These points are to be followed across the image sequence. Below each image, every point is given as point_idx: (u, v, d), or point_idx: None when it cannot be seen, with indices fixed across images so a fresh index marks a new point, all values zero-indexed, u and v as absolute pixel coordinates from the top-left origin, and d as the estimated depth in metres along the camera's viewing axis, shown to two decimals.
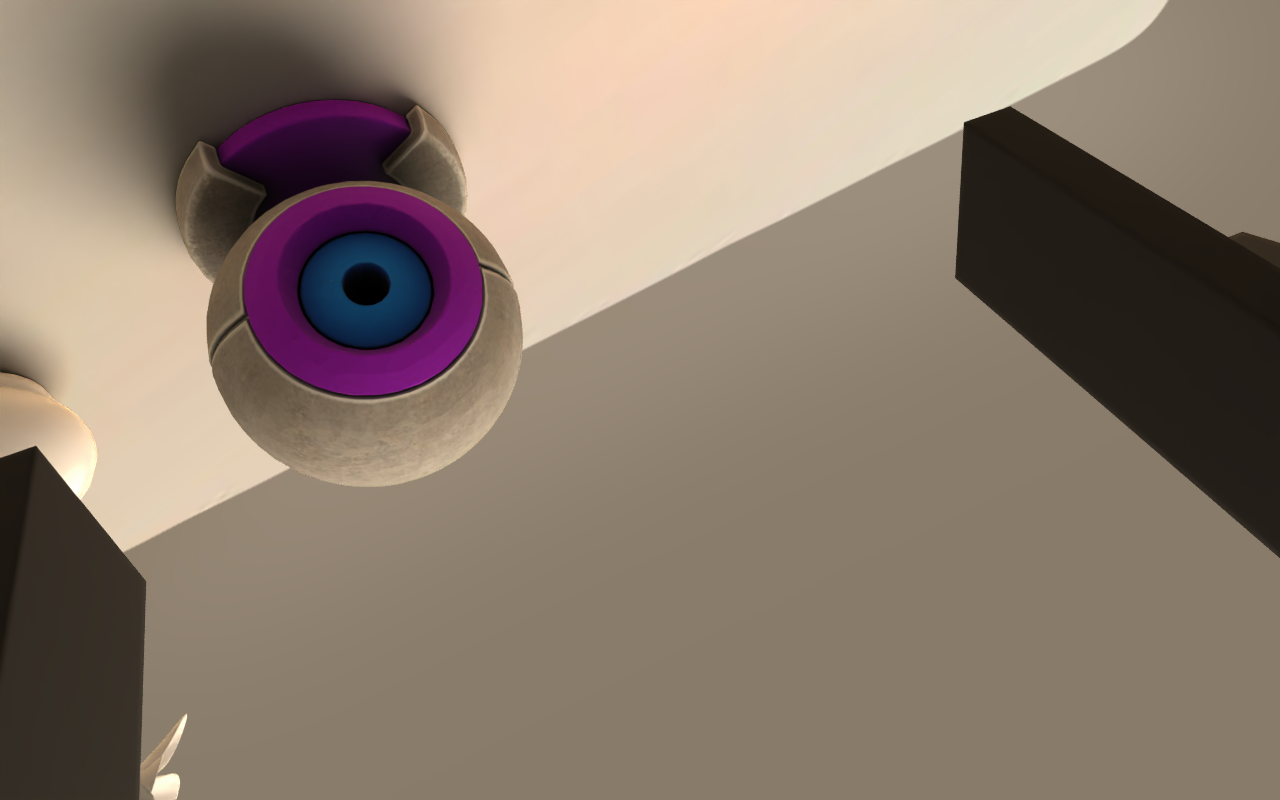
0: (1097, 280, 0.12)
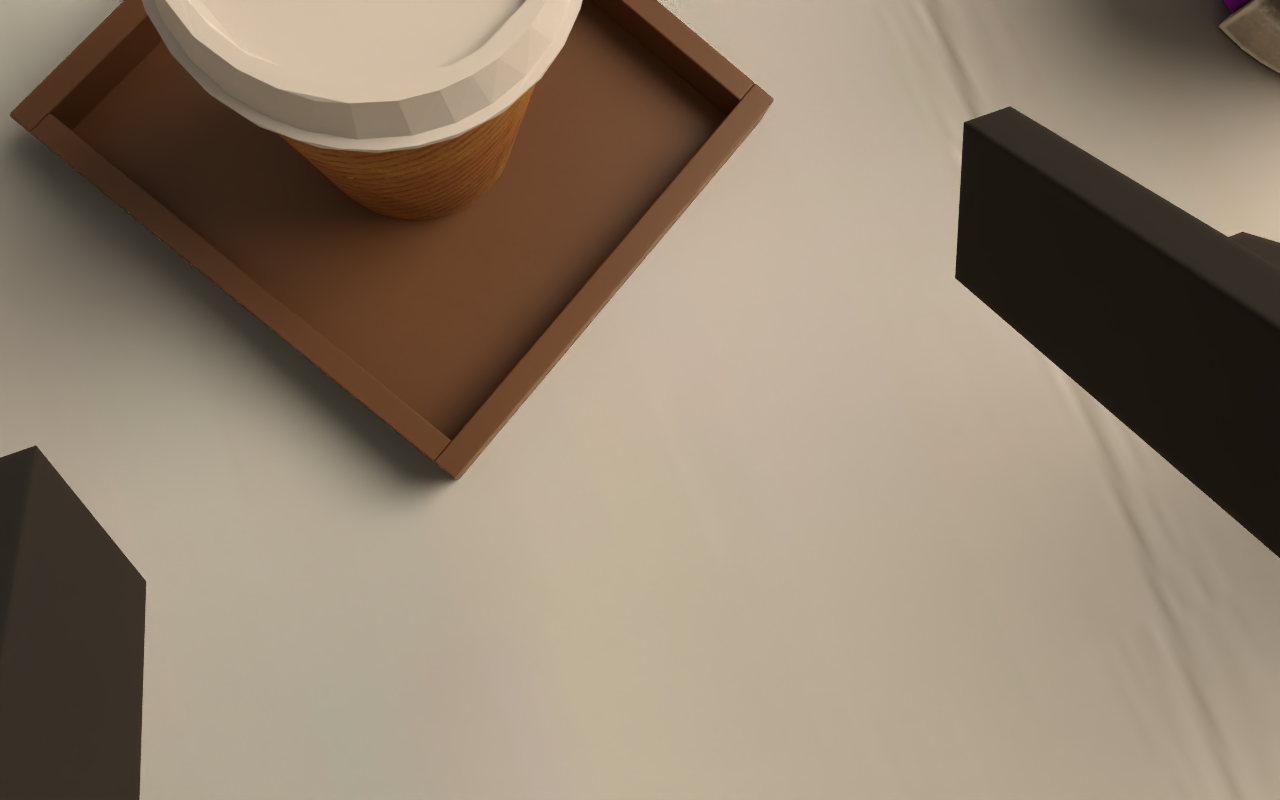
0: (1097, 280, 0.12)
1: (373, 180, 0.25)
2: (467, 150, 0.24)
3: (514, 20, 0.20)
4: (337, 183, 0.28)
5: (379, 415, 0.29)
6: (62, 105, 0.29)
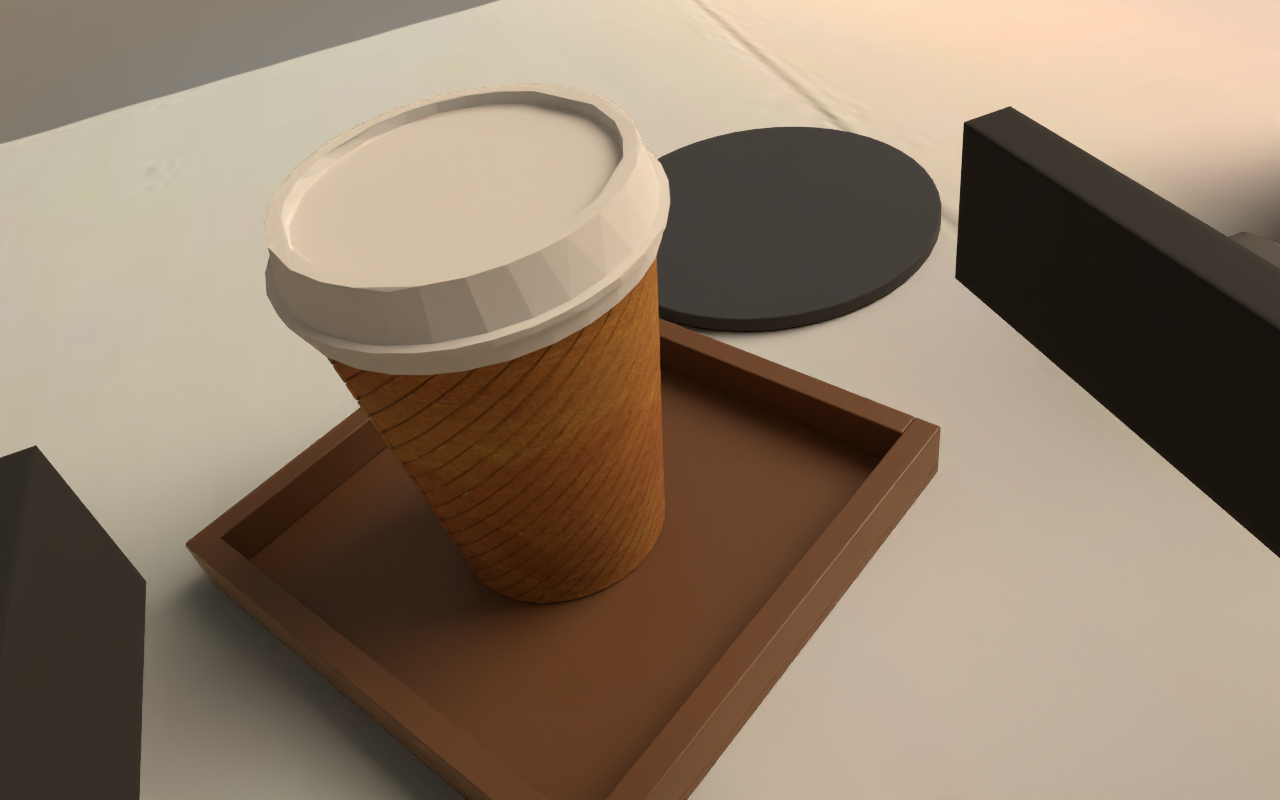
0: (1097, 280, 0.12)
1: (485, 483, 0.24)
2: (574, 418, 0.23)
3: (584, 211, 0.20)
4: (467, 541, 0.26)
5: (493, 799, 0.22)
6: (233, 533, 0.30)
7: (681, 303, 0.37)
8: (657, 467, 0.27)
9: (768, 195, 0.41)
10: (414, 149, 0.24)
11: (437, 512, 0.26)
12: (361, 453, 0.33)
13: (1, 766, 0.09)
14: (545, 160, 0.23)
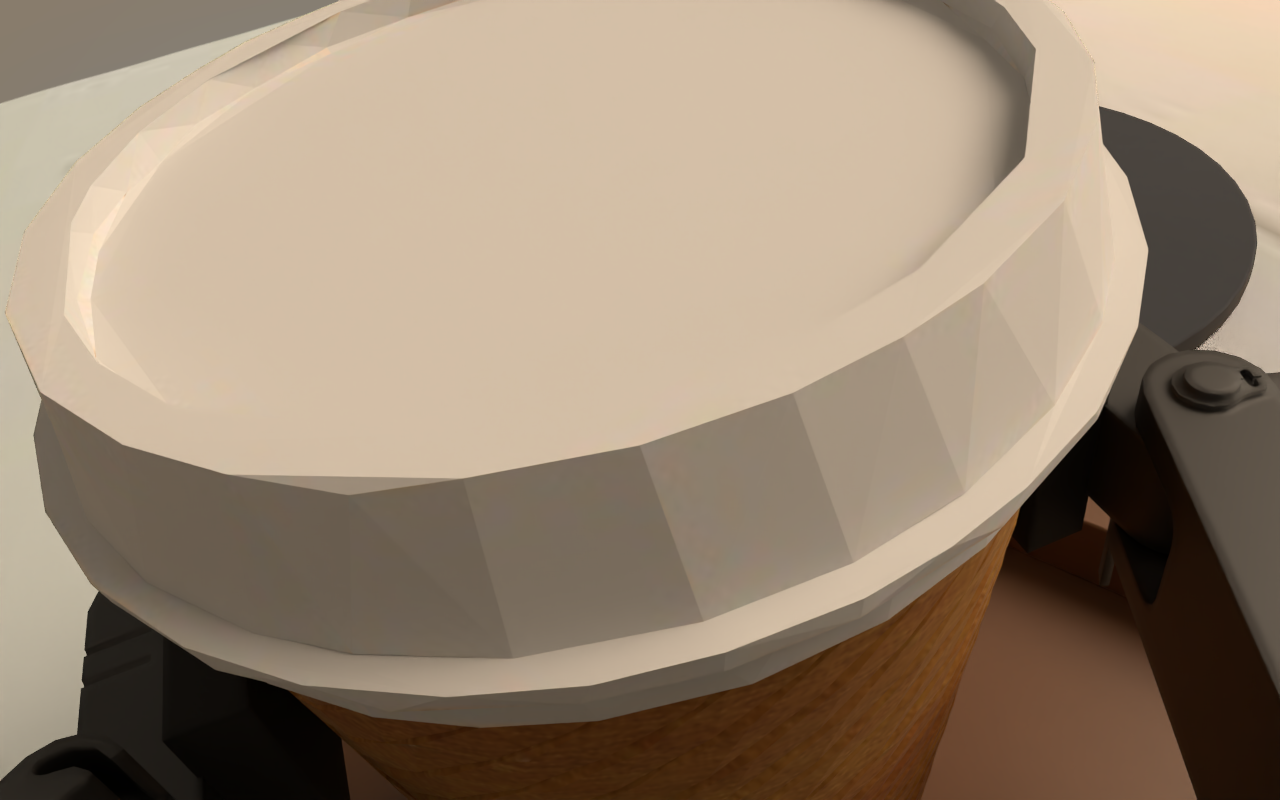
0: None
1: None
2: (859, 751, 0.09)
3: (1005, 196, 0.06)
4: None
5: None
6: None
7: None
8: None
9: None
10: (431, 62, 0.10)
11: None
12: None
13: None
14: (778, 71, 0.09)
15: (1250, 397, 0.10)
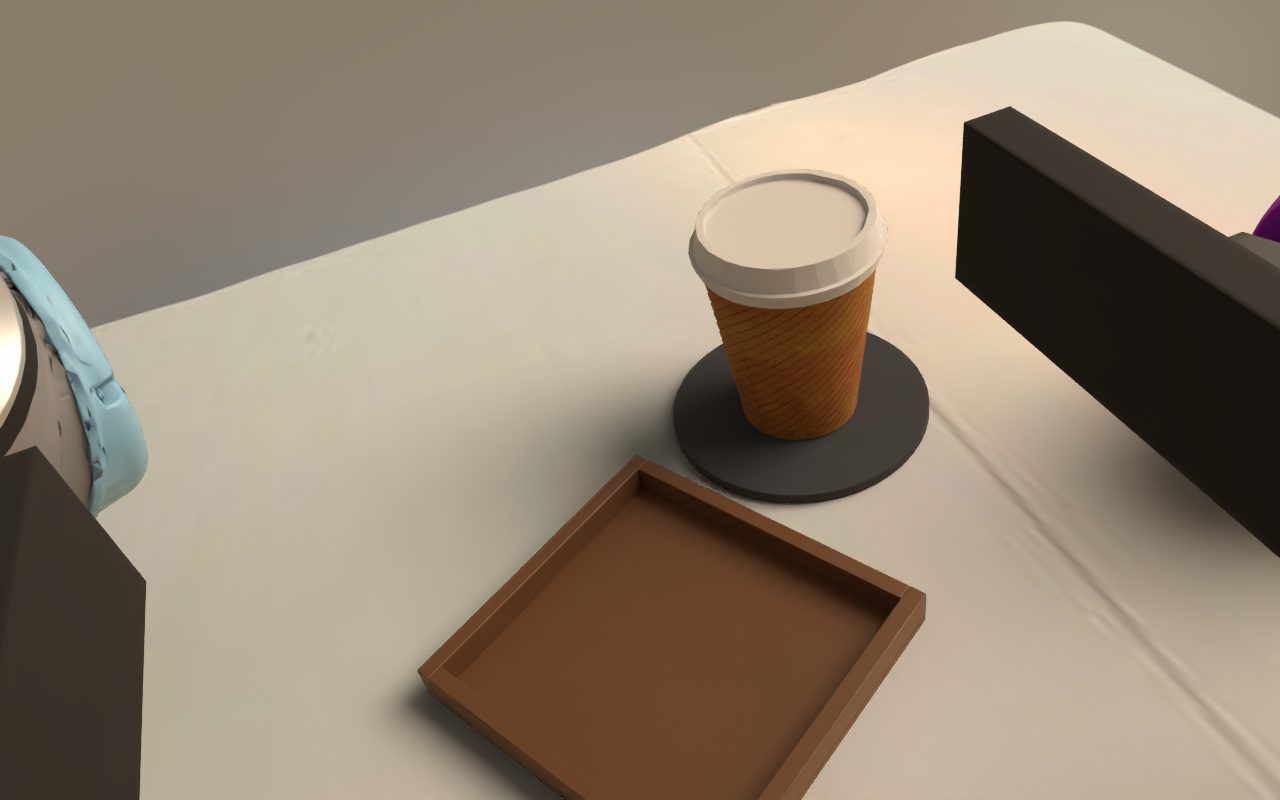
0: (1097, 280, 0.12)
1: (792, 366, 0.48)
2: (840, 332, 0.47)
3: (859, 234, 0.45)
4: (766, 403, 0.51)
5: None
6: (448, 662, 0.45)
7: (742, 480, 0.51)
8: (861, 366, 0.52)
9: None
10: (753, 203, 0.49)
11: (753, 387, 0.51)
12: (524, 599, 0.48)
13: (1, 766, 0.09)
14: (826, 209, 0.48)
15: None
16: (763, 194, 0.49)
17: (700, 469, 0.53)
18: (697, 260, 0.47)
